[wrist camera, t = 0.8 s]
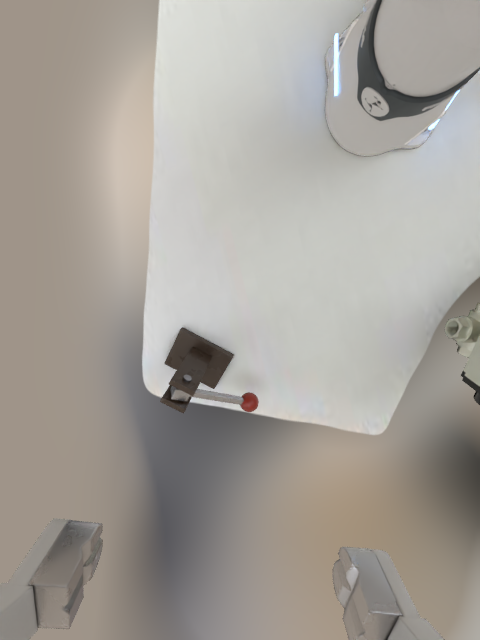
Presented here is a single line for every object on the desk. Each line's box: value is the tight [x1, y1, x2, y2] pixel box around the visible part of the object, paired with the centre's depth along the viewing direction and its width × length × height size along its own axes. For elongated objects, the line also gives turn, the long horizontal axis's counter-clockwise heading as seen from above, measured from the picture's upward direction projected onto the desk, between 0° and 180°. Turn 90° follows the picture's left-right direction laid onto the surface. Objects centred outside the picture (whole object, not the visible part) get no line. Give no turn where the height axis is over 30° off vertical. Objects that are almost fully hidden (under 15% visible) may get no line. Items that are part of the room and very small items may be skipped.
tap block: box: [160, 328, 234, 413], centre depth 47 cm, size 12×9×14 cm
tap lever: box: [171, 386, 258, 412], centre depth 46 cm, size 17×4×4 cm, turn 63°
